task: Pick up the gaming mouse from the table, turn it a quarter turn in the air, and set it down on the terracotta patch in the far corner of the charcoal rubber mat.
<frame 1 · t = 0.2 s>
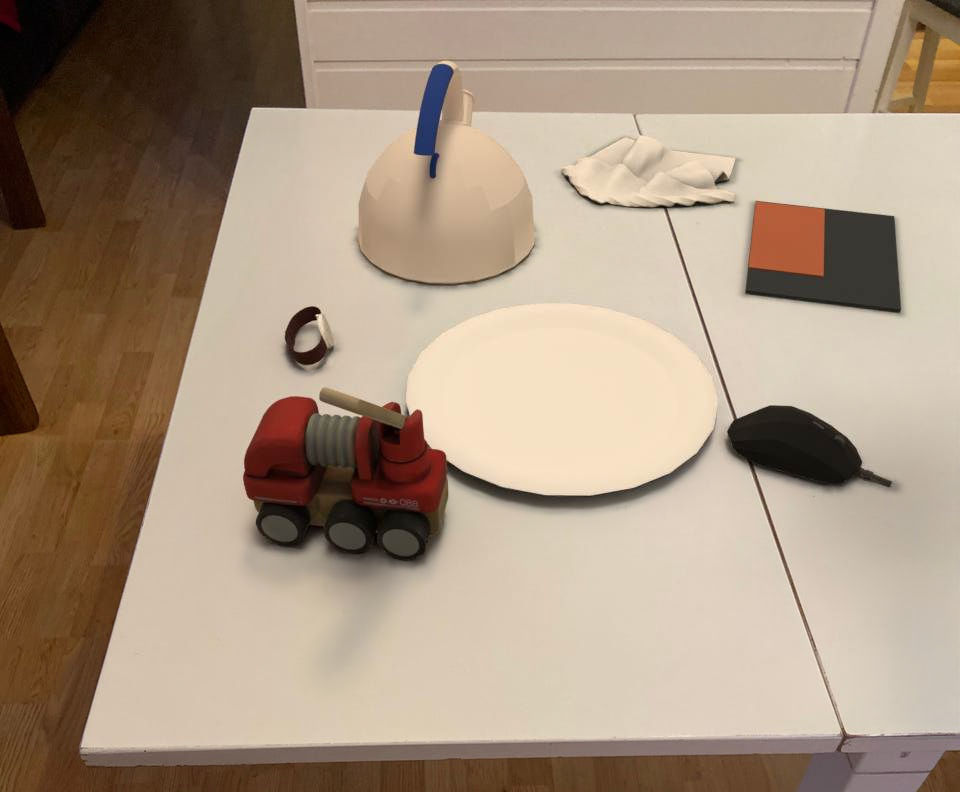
plate: (559, 404, 91), on the table
gaming mouse: (806, 461, 86), on the table
watch: (310, 349, 97), on the table
toy fire truck: (350, 532, 80), on the table
kettle: (447, 238, 110), on the table
mat: (822, 254, 108), on the table
cloth: (658, 179, 119), on the table
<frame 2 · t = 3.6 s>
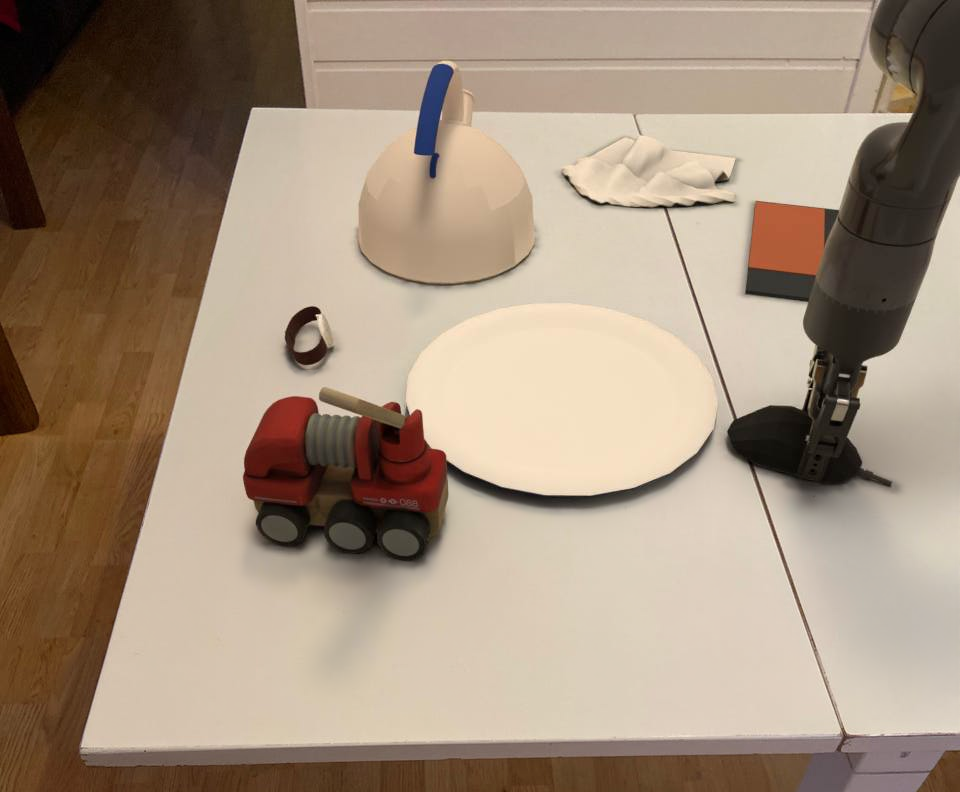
hand: (809, 450, 85), 1 cm above the table, tool pointing down, fingers closed on gaming mouse, 6 cm apart
gaming mouse: (806, 461, 86), on the table, touching gripper
everything else where it was.
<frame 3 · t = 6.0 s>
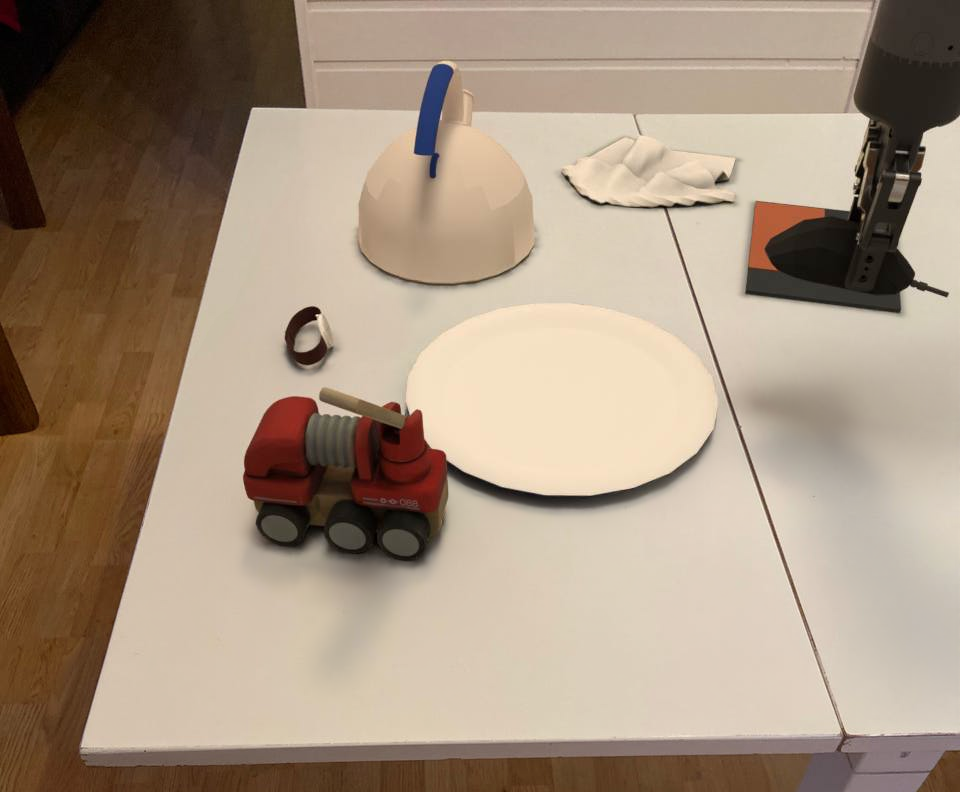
hand: (856, 264, 78), 15 cm above the table, tool pointing down, fingers closed on gaming mouse, 6 cm apart
gaming mouse: (852, 277, 78), point 14 cm above the table, touching gripper
everything else where it was.
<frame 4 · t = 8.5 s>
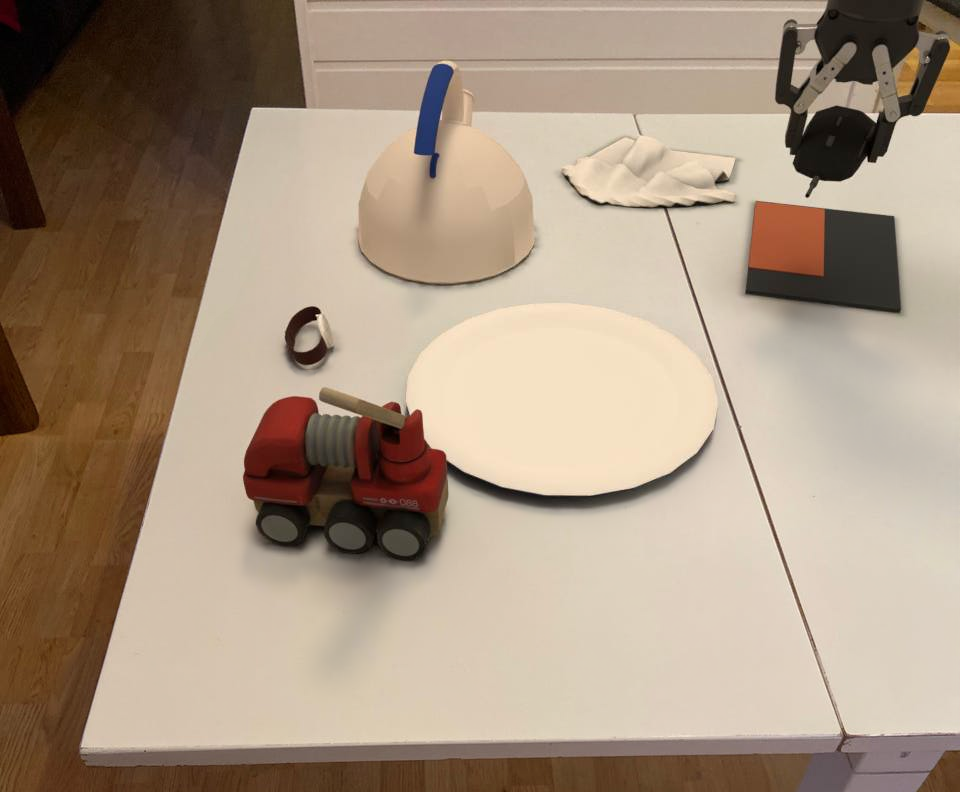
hand: (832, 154, 89), 16 cm above the table, tool pointing down, fingers closed on gaming mouse, 6 cm apart
gaming mouse: (826, 165, 90), point 15 cm above the table, touching gripper
everything else where it was.
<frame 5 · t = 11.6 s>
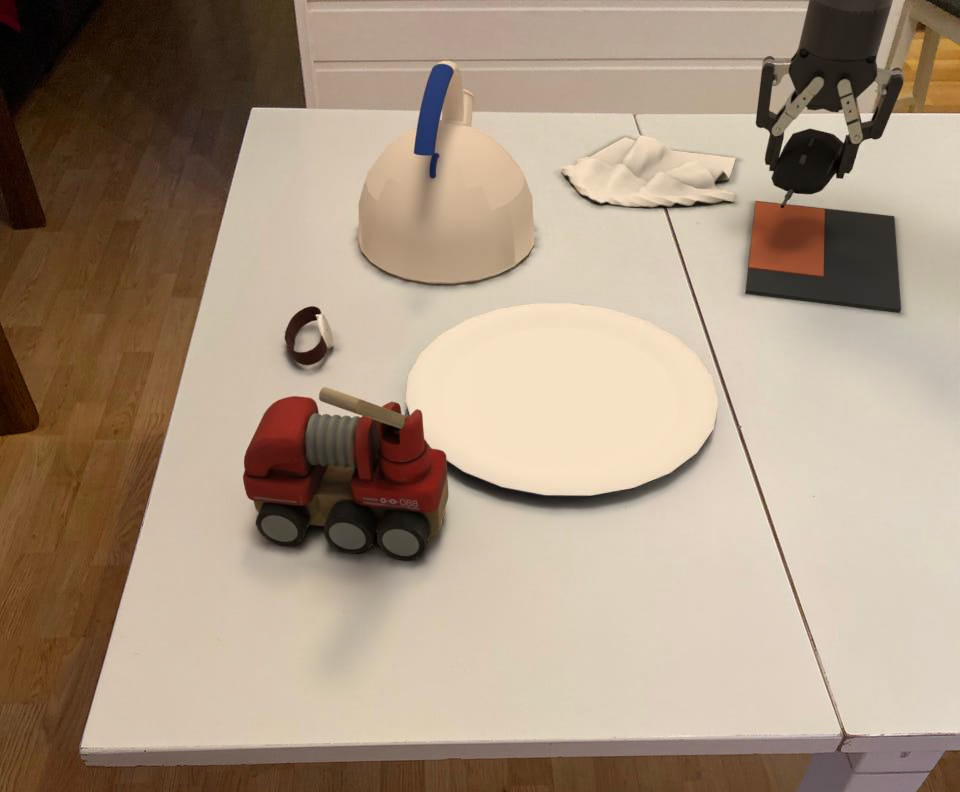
hand: (806, 171, 103), 8 cm above the table, tool pointing down, fingers closed on gaming mouse, 6 cm apart
gaming mouse: (801, 180, 104), point 7 cm above the table, touching gripper
everything else where it was.
when the fingers open (1 cm above the table, at t = 14.0 s): gaming mouse stays where it is, resting on mat.
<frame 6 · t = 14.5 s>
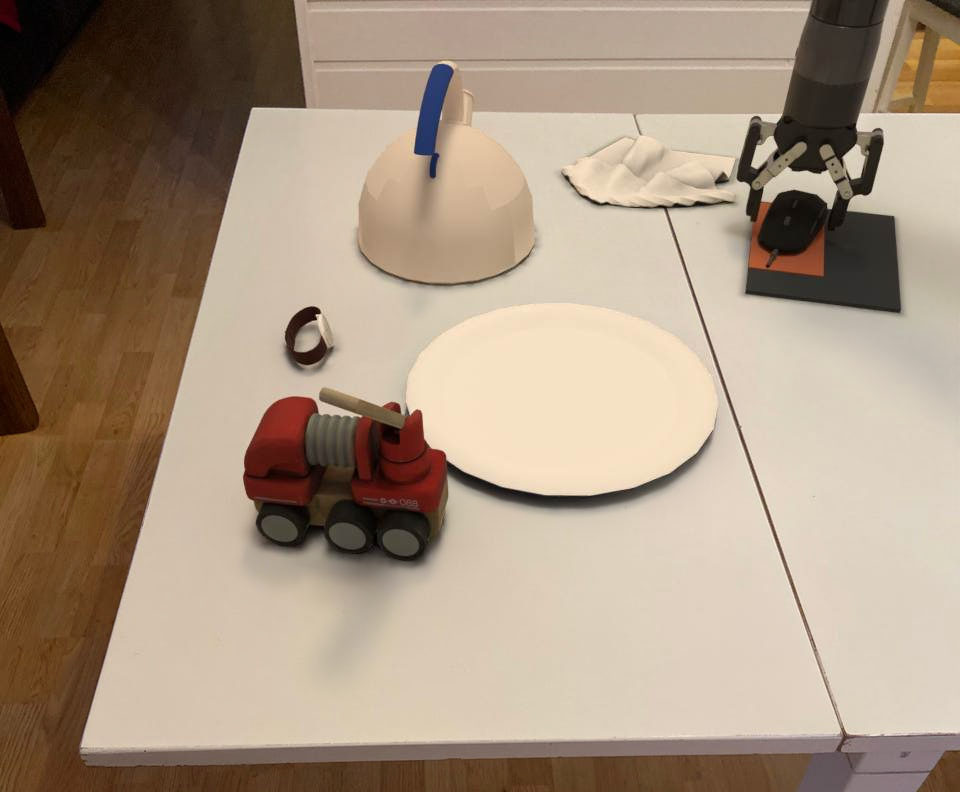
hand: (792, 223, 108), 2 cm above the table, tool pointing down, fingers open, 8 cm apart
gaming mouse: (785, 238, 109), resting on mat
everything else where it was.
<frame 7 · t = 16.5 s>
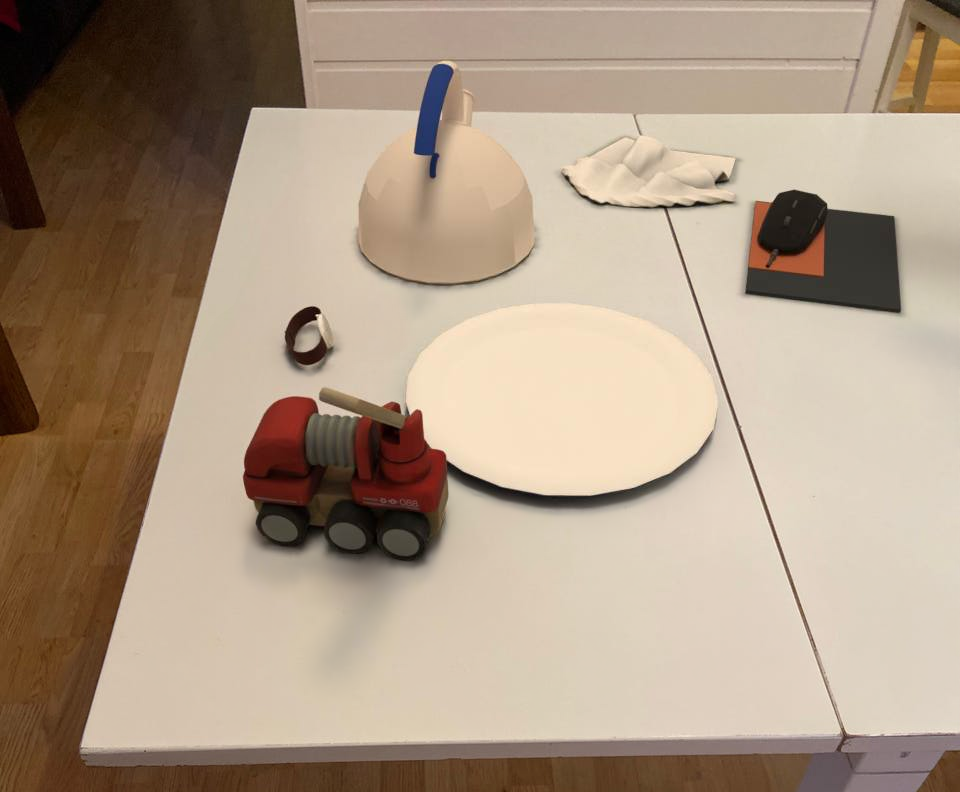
nothing on the table moved.
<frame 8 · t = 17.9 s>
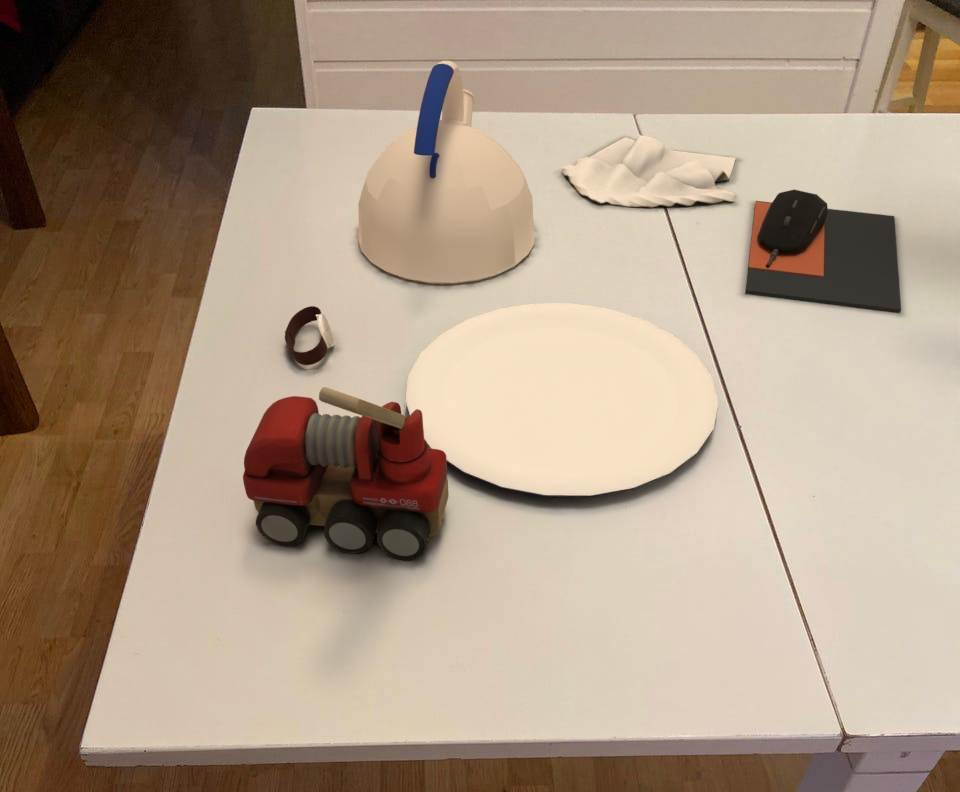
nothing on the table moved.
at the end: gaming mouse inside the target area on the mat (0.2 cm from its centre), point 0.4 cm above the mat's base; the gripper is holding nothing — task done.
